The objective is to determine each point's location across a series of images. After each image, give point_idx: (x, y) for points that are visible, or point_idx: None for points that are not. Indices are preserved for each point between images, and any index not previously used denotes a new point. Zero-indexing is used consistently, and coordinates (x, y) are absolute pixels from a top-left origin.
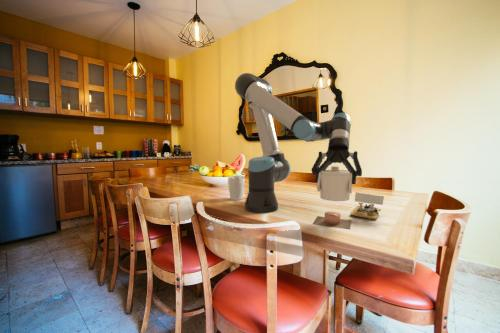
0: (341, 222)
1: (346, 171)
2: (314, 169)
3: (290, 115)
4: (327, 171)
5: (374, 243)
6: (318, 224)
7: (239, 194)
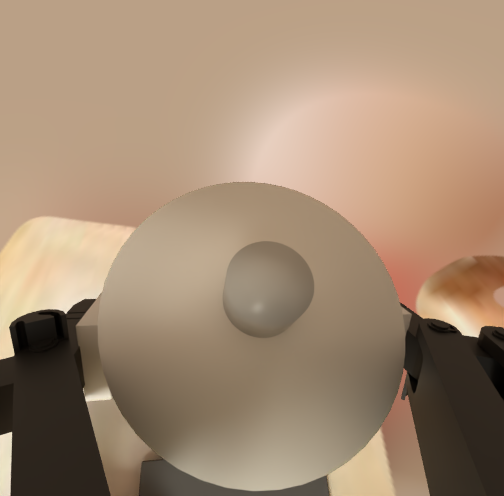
0: None
1: (137, 294)
2: (490, 336)
3: None
4: (318, 247)
5: (99, 262)
6: None
7: None
